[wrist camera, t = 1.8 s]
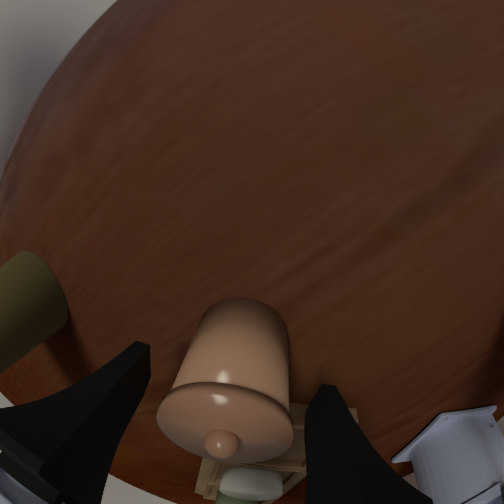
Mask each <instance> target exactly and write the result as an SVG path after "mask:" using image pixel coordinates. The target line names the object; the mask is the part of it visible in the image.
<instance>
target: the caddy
mask: <svg viewBox="0 0 504 504" xmlns="http://www.w3.org/2000/svg"><path fill="white" fill-rule="evenodd" d="M309 405H310V404H302V403H294V402H289V413H290V415H291V417H292V420H293V442H292V444H291V446H290V447H289V449H288V450H287V451H285V452H284V453H283V454H281V455H279V456H277V457H275V458H272V459H269V460H266V461H261V462H255V463H228V462H221V461H215V460H211V459H207V458H204V457H203V460H202V464H201V468H200V472H199V476H198V480H197V484H196V488H195V492H194V493H198V494H202V495H204V496H203V498H205V499H210V500H215V501H216V496H217V491H218V489H219V488H220V483H221V478H222V472H223V469H224V468H226V467H228V466H231V465H241V466H247V467H254V468H261V469H270V470H279V471H281V472H282V474H283V488H282V495H284V494H285V493H286V492H287V491H289V490H290V489H291V488H292V487H294V486H295V485H296V484H297V483H298V482H299V481H301V480H302V479H303V478H304V477H305V476H306V475H307V471H306V455H305V441H304V421H305V411H306V409H307V408H308V406H309ZM348 409H349V411H350V413H351V414H352V416H353V418H354V419H355V421H356V423H357V424H358V423H359V421H358V416H357V411H356V408H348ZM282 495H281V496H282ZM281 496H280V497H281ZM280 497H278V498H276V499H271V500H263V501H258V504H272V503H273V502H275V501H276V500H277V499H279V498H280Z"/></svg>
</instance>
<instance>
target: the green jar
mask: <svg viewBox="0 0 504 504" xmlns="http://www.w3.org/2000/svg"><path fill="white" fill-rule="evenodd" d="M215 504H258V501H252V500H242V499H237V498H233V497H230V496H227V495H225V494H223V493H222V492H220V490H219V489H218V491H217V496H216V501H215Z"/></svg>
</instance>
